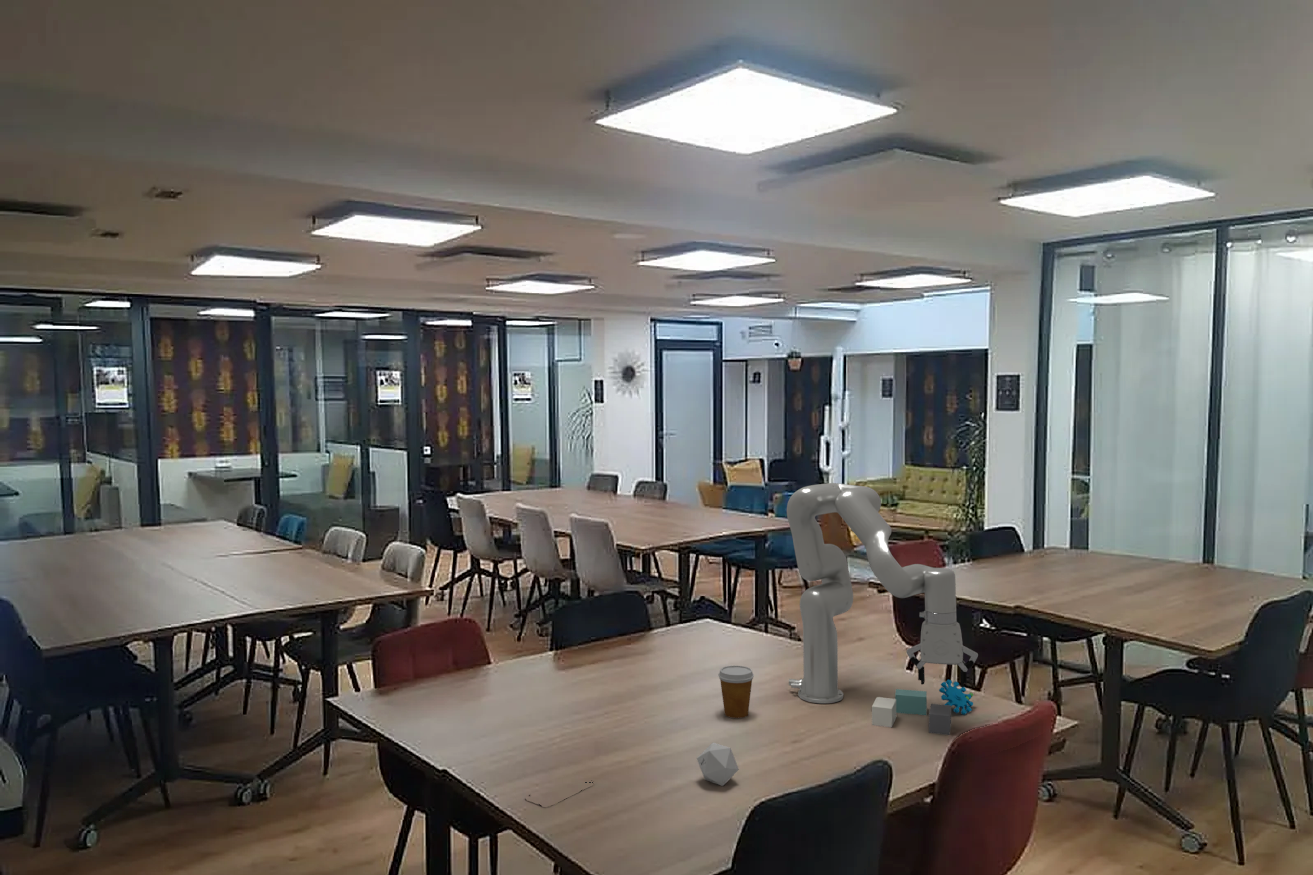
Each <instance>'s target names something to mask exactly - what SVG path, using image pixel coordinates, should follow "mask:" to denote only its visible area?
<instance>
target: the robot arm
mask: <svg viewBox="0 0 1313 875" xmlns="http://www.w3.org/2000/svg"><path fill="white" fill-rule="evenodd" d="M881 506H882V500H881V497H880V495H879V494H878V492H877V491H876V490H875V489H873V488H872V487H869V486H864V485H863V486H862V485H855V484H847V483H846V484H845V483H839V482H837V483H836V482H831V483H830V482H828V483H821V484H812V485H806V486H803V487H801V488H799V489H798V490H795V492H793V494H792V495H791V496H790V497H789V499H788V501H787V505H786V517H787V521H788V522H787V523H788V525H789V528H790V532H791V536H792V541H793V548H794V555H795V559H796V563H797V564H796V565H797V570H798V573H799V575H800V576H801V578H802V579H803V580H805V581H808V582H815V581H816V582H817V581H821V583H820V584H818V585H817V584H816V585H813V586H811V587H809V588H807V589H806V590H805V591H804V592H803V593H802V594H801V597H800V598H799V610H800V616H801V622H802V638H803V640H802V643H803V644H802V646H803V649H802V650H803V652H802V653H803V678H799V679H796V678H788V686H790V688H792V689H793V688H794V689H798V691H797V692H798V693H797V694H798V696H797V697H799V698H800V699H801V700H803V701H806V702H809V703H813V704H814V703H815V704H833V703H837V702H840V701H842V700H843V699H844V692H843V691H842V690H841V689H839V685H838V684H839V682H838V679H839V677H838V674H839V673H838V672H839V671H838V670H839V668H838V665H839V664H838V661H839V660H838V659H839V658H838V654H839V653H838V651H839V650H838V630H837V627H836V624H835V622H834V617H836V616H838V615H842V614H844V613H847V612H848V611H849V610H850V609H851V608H852V607H853V602H854V591H853V586H852V581H851V575H850V570H849V565H848V561H847V557H846V556H845V553H844V551H843V550H842V549H841V548H840V547H839V546H837V545H835V544H833V543H825V540H824V535H823V531H822V528H821V526H820V524H819V522H818V521H817V520H816V516H819V515H826V514H831V513H837V514H838V515H839V516H840V517H841V518H842V520H843V521H844V523H846V525H847V527H849V528H850V530H851V531H852V533H854V535H855V536H856V537H857V538H858V540H859V541H860V542H861V543H862V545H863V546H864V548H865V550H866V558H867V561H868V565H869V566H870V570H871V572H872V573H873V575H874V576H875V577H876V579H877V580H878V581H879V583H880V584H881V585H882V587H884V589H885V590H886V591H887V592H888V593H890V594H891V595H893V596H894V597H895V598H899V599H905V598H909V597H913V596H915V595H919V594H924V611H919V618H923V619H924V621H923V622H922V624H921V631H920V643H918V644H915V645H913V646H912V647H909V648H906V652H905V653H906V655H907V656H908V658H909V659H910V662H911V663H912V664H913V665H914V666H916V668H917V676H918V677H917V679H918V681H920V684H921V685H925V681H926V679H925V678H926V677H925V675H926V674H925V666H924V665H925V664H933V665H934V664H935V665H950V666H951V665H952V666H954V665H955V666H956V665H957V666H959V668H960V688H962V687H965V684H967V683H968V679H967V678H968V677H967V676H968V673H967V672H968V670H969V669H970V668H972V667H973V666H974V665H975V663H976V661H977V659H978V656H979V654H978V652H976V651H974V650H972V649H971V648H968V647H967V646H964V645H963V637H962V630H961V625H960V623H959V622H958V621H957V593H956V592H957V590H956V589H957V588H956V587H957V586H956V585H957V584H956V574H955V572H954V571H953V570H952V569H951V568H945V567H933V566H928V565H925V564H920V563H914V564H910V565H906V566H901V565H900V564H899V563H898V561H897V560H896V559H895V557H894V556H893V555H892V553H891V551H890V548H889V538H890V536H891V534H892V527H891V526H890V525H889V524H888V522H887V521H886V520H885V518H884V517H883V516H882V515H881V514H880V513H879V511H880V510H881V508H882V507H881ZM918 651H920V659H919V658H918V657H916V656H915V654H914V653H916V652H918ZM964 654H966V655H967V656H969V657H970V658H969V660H968V661H967V662H965V661H964V660H963V659H964Z"/></svg>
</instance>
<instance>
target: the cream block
mask: <svg viewBox="0 0 1313 875" xmlns="http://www.w3.org/2000/svg"><path fill="white" fill-rule="evenodd" d="M896 719H897V713H896V699H895V698H888V697H882V696H876V698H875V700H874V702H873V704H872V705H871V726H876V727H877V726H878V727H886V728H892V727H894V723H895V721H896Z"/></svg>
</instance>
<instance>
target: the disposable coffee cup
mask: <svg viewBox="0 0 1313 875" xmlns="http://www.w3.org/2000/svg"><path fill="white" fill-rule="evenodd" d="M719 669H720V670H719V673H718V676H717V677H718V678H719V682H720V687H721V689H720V690H721V697H722V704H723V710H724V715H725V716H726V717H727V718H731V719H744V718H746V717H748V715H749V710H750V702H751V692H752V683H753V679H754V677H755V674H754V673H753V669H752V668H751V667H748V666H745V665H727V666H723V667H721V668H719Z"/></svg>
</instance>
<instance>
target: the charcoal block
mask: <svg viewBox="0 0 1313 875" xmlns="http://www.w3.org/2000/svg"><path fill="white" fill-rule="evenodd" d="M951 728H952V706H950V705H944V704H939V703H930V707H929V711H928V733H929V734H937V735H945V736H950V734H951Z"/></svg>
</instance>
